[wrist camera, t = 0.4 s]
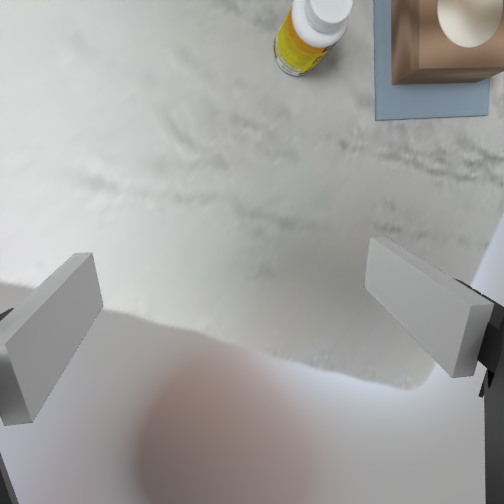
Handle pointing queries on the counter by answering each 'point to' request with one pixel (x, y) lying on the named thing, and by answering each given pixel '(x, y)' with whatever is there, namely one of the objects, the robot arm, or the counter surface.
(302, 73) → the supplement bottle
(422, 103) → the mat
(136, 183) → the counter surface
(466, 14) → the foundation block
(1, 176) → the counter surface
